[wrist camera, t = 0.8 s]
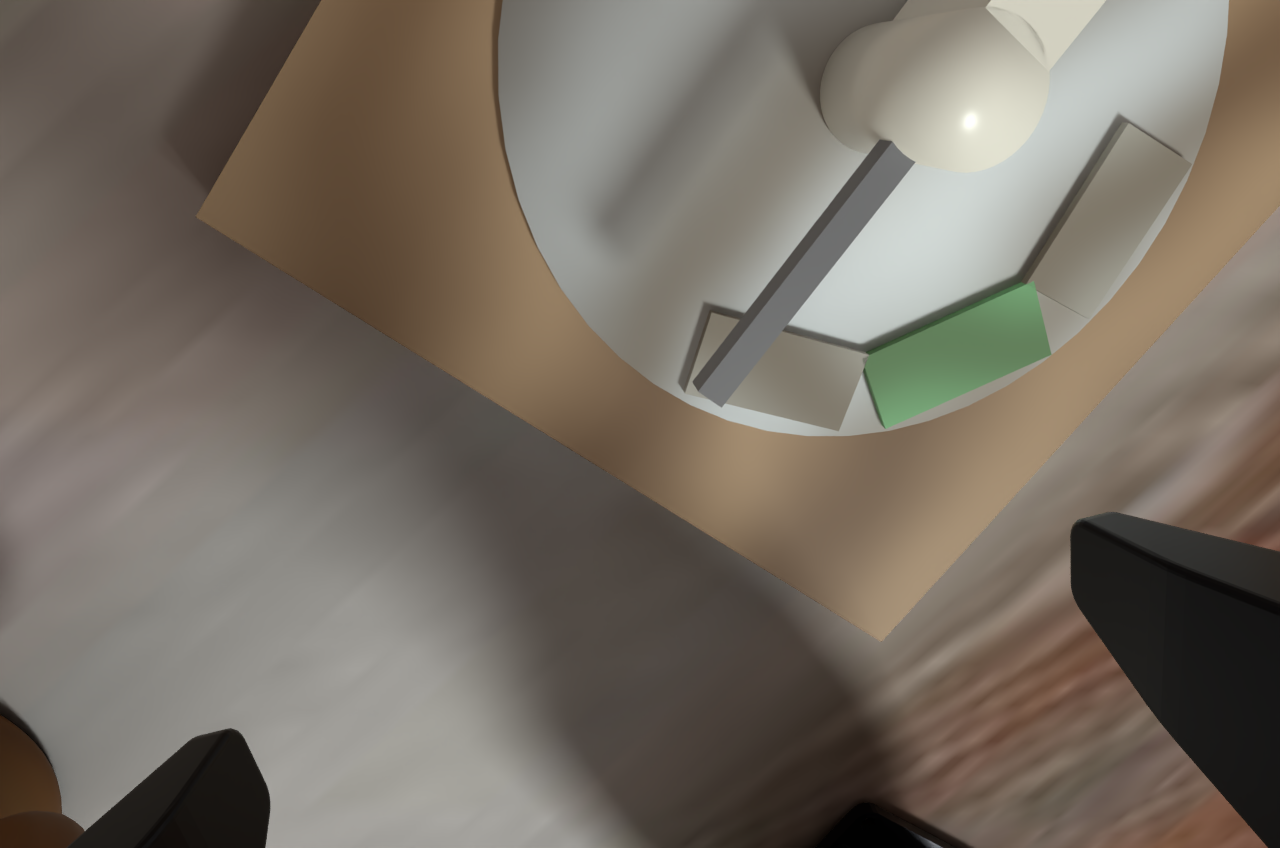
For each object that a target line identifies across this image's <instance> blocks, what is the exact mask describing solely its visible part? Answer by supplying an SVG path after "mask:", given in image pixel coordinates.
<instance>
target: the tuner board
mask: <svg viewBox="0 0 1280 848" xmlns="http://www.w3.org/2000/svg"><path fill="white" fill-rule="evenodd" d="M907 1H908V0H321V1H320V3H319V5H318V7H317V8H316V10H315V12H314V14H313V15H312V17H311V19H310V20H309V22H308V24H307V26H306V27H305V29H304V31H303V32H302V34H301V36H300V38H299V39H298V41H297V43H296V45H295V46H294V48H293V50H292V51H291V53H290V55H289V57H288V58H287V60H286V62H285V63H284V65H283V67H282V69H281V70H280V72H279V74H278V76H277V77H276V79H275V81H274V82H273V84H272V86H271V88H270V89H269V91H268V93H267V94H266V96H265V98H264V100H263V101H262V103H261V105H260V107H259V108H258V110H257V112H256V113H255V115H254V117H253V119H252V120H251V122H250V124H249V126H248V127H247V129H246V131H245V132H244V134H243V136H242V138H241V139H240V141H239V143H238V144H237V146H236V148H235V150H234V151H233V153H232V155H231V157H230V158H229V160H228V162H227V163H226V165H225V167H224V169H223V170H222V172H221V174H220V175H219V177H218V179H217V181H216V182H215V184H214V186H213V188H212V189H211V191H210V193H209V194H208V196H207V198H206V200H205V201H204V203H203V205H202V206H201V208H200V210H199V212H198V213H197V215H196V218H198V219H200V220H201V221H203V222H204V223H206V224H208V225H209V226H211V227H212V228H214V229H216V230H217V231H219V232H221V233H222V234H224V235H225V236H227V237H229V238H230V239H232V240H233V241H235V242H237V243H238V244H240V245H241V246H243V247H245V248H246V249H248V250H250V251H251V252H253V253H254V254H256V255H258V256H259V257H261V258H262V259H264V260H266V261H267V262H269V263H271V264H272V265H274V266H275V267H277V268H279V269H280V270H282V271H283V272H285V273H287V274H288V275H290V276H292V277H293V278H295V279H296V280H298V281H300V282H301V283H303V284H304V285H306V286H308V287H309V288H311V289H312V290H314V291H316V292H317V293H319V294H321V295H322V296H324V297H325V298H327V299H329V300H330V301H332V302H333V303H335V304H337V305H338V306H340V307H342V308H343V309H345V310H346V311H348V312H350V313H351V314H353V315H354V316H356V317H358V318H359V319H361V320H363V321H364V322H366V323H367V324H369V325H371V326H372V327H374V328H375V329H377V330H379V331H380V332H382V333H383V334H385V335H387V336H388V337H390V338H392V339H393V340H395V341H396V342H398V343H400V344H401V345H403V346H404V347H406V348H408V349H409V350H411V351H413V352H414V353H416V354H417V355H419V356H421V357H422V358H424V359H425V360H427V361H429V362H430V363H432V364H433V365H435V366H437V367H438V368H440V369H442V370H443V371H445V372H446V373H448V374H450V375H451V376H453V377H454V378H456V379H458V380H459V381H461V382H463V383H464V384H466V385H467V386H469V387H471V388H472V389H474V390H475V391H477V392H479V393H480V394H482V395H484V396H485V397H487V398H488V399H490V400H492V401H493V402H495V403H496V404H498V405H500V406H501V407H503V408H504V409H506V410H508V411H509V412H511V413H513V414H514V415H516V416H517V417H519V418H521V419H522V420H524V421H525V422H527V423H529V424H530V425H532V426H534V427H535V428H537V429H538V430H540V431H542V432H543V433H545V434H546V435H548V436H550V437H551V438H553V439H555V440H556V441H558V442H559V443H561V444H563V445H564V446H566V447H567V448H569V449H571V450H572V451H574V452H575V453H577V454H579V455H580V456H582V457H584V458H585V459H587V460H588V461H590V462H592V463H593V464H595V465H596V466H598V467H600V468H601V469H603V470H605V471H606V472H608V473H609V474H611V475H613V476H614V477H616V478H617V479H619V480H621V481H622V482H624V483H626V484H627V485H629V486H630V487H632V488H634V489H635V490H637V491H638V492H640V493H642V494H643V495H645V496H646V497H648V498H650V499H651V500H653V501H655V502H656V503H658V504H659V505H661V506H663V507H664V508H666V509H667V510H669V511H671V512H672V513H674V514H676V515H677V516H679V517H680V518H682V519H684V520H685V521H687V522H688V523H690V524H692V525H693V526H695V527H697V528H698V529H700V530H701V531H703V532H705V533H706V534H708V535H709V536H711V537H713V538H714V539H716V540H717V541H719V542H721V543H722V544H724V545H726V546H727V547H729V548H730V549H732V550H734V551H735V552H737V553H738V554H740V555H742V556H743V557H745V558H747V559H748V560H750V561H751V562H753V563H755V564H756V565H758V566H759V567H761V568H763V569H764V570H766V571H767V572H769V573H771V574H772V575H774V576H776V577H777V578H779V579H780V580H782V581H784V582H785V583H787V584H788V585H790V586H792V587H793V588H795V589H797V590H798V591H800V592H801V593H803V594H805V595H806V596H808V597H809V598H811V599H813V600H814V601H816V602H818V603H819V604H821V605H822V606H824V607H826V608H827V609H829V610H830V611H832V612H834V613H835V614H837V615H838V616H840V617H842V618H843V619H845V620H847V621H848V622H850V623H851V624H853V625H855V626H856V627H858V628H859V629H861V630H863V631H864V632H866V633H868V634H869V635H871V636H872V637H874V638H876V639H877V640H879V641H880V642H882V641H883V640H884V639H885V637H886V636H887V635H888V634H889V633H890V632H891V631H892V630H893V629H894V628H895V626H896V625H897V624H898V623H899V622H900V621H901V620H902V619H903V618H904V617H905V615H906V614H907V613H908V612H909V611H910V610H911V609H912V608H913V607H914V606H915V605H916V603H917V602H918V601H919V600H920V599H921V598H922V597H923V596H924V595H925V594H926V592H927V591H928V590H929V589H930V588H931V587H932V586H933V585H934V584H935V583H936V582H937V580H938V579H939V578H940V577H941V576H942V575H943V574H944V573H945V572H946V571H947V569H948V568H949V567H950V566H951V565H952V564H953V563H954V562H955V561H956V560H957V559H958V557H959V556H960V555H961V554H962V553H963V552H964V551H965V550H966V549H967V548H968V546H969V545H970V544H971V543H972V542H973V541H974V540H975V539H976V538H977V537H978V536H979V534H980V533H981V532H982V531H983V530H984V529H985V528H986V527H987V526H988V525H989V523H990V522H991V521H992V520H993V519H994V518H995V517H996V516H997V515H998V514H999V512H1000V511H1001V510H1002V509H1003V508H1004V507H1005V506H1006V505H1007V504H1008V503H1009V502H1010V500H1011V499H1012V498H1013V497H1014V496H1015V495H1016V494H1017V493H1018V492H1019V491H1020V489H1021V488H1022V487H1023V486H1024V485H1025V484H1026V483H1027V482H1028V481H1029V480H1030V479H1031V477H1032V476H1033V475H1034V474H1035V473H1036V472H1037V471H1038V470H1039V469H1040V468H1041V466H1042V465H1043V464H1044V463H1045V462H1046V461H1047V460H1048V459H1049V458H1050V457H1051V456H1052V454H1053V453H1054V452H1055V451H1056V450H1057V449H1058V448H1059V447H1060V446H1061V445H1062V443H1063V442H1064V441H1065V440H1066V439H1067V438H1068V437H1069V436H1070V435H1071V434H1072V432H1073V431H1074V430H1075V429H1076V428H1077V427H1078V426H1079V425H1080V424H1081V423H1082V422H1083V420H1084V419H1085V418H1086V417H1087V416H1088V415H1089V414H1090V413H1091V412H1092V411H1093V409H1094V408H1095V407H1096V406H1097V405H1098V404H1099V403H1100V402H1101V401H1102V400H1103V399H1104V397H1105V396H1106V395H1107V394H1108V393H1109V392H1110V391H1111V390H1112V389H1113V388H1114V386H1115V385H1116V384H1117V383H1118V382H1119V381H1120V380H1121V379H1122V378H1123V377H1124V376H1125V374H1126V373H1127V372H1128V371H1129V370H1130V369H1131V368H1132V367H1133V366H1134V365H1135V363H1136V362H1137V361H1138V360H1139V359H1140V358H1141V357H1142V356H1143V355H1144V354H1145V353H1146V351H1147V350H1148V349H1149V348H1150V347H1151V346H1152V345H1153V344H1154V343H1155V342H1156V340H1157V339H1158V338H1159V337H1160V336H1161V335H1162V334H1163V333H1164V332H1165V331H1166V329H1167V328H1168V327H1169V326H1170V325H1171V324H1172V323H1173V322H1174V321H1175V320H1176V319H1177V317H1178V316H1179V315H1180V314H1181V313H1182V312H1183V311H1184V310H1185V309H1186V308H1187V306H1188V305H1189V304H1190V303H1191V302H1192V301H1193V300H1194V299H1195V298H1196V297H1197V296H1198V294H1199V293H1200V292H1201V291H1202V290H1203V289H1204V288H1205V287H1206V286H1207V285H1208V283H1209V282H1210V281H1211V280H1212V279H1213V278H1214V277H1215V276H1216V275H1217V274H1218V273H1219V271H1220V270H1221V269H1222V268H1223V267H1224V266H1225V265H1226V264H1227V263H1228V262H1229V260H1230V259H1231V258H1232V257H1233V256H1234V255H1235V254H1236V253H1237V252H1238V251H1239V249H1240V248H1241V247H1242V246H1243V245H1244V244H1245V243H1246V242H1247V241H1248V240H1249V239H1250V237H1251V236H1252V235H1253V234H1254V233H1255V232H1256V231H1257V230H1258V229H1259V228H1260V226H1261V225H1262V224H1263V223H1264V222H1265V221H1266V220H1267V219H1268V218H1269V217H1270V216H1271V214H1272V213H1273V212H1274V211H1275V210H1276V209H1277V208H1278V207H1279V206H1280V0H1106V1H1105V3H1104V4H1103V5H1102V6H1101V8H1100V9H1099V10H1098V11H1097V12H1096V14H1095V15H1094V16H1093V17H1092V19H1091V20H1090V21H1089V22H1088V24H1087V25H1086V26H1085V27H1084V29H1083V30H1082V31H1081V32H1080V34H1079V35H1078V36H1077V37H1076V38H1075V40H1074V41H1073V42H1072V43H1071V45H1070V46H1069V47H1068V48H1067V50H1066V51H1065V52H1064V53H1063V55H1062V56H1061V57H1060V58H1059V60H1058V61H1057V62H1056V63H1055V64H1054V66H1053V67H1052V68H1051V69H1050V84H1049V93H1048V98H1047V102H1046V105H1045V108H1044V111H1043V114H1042V116H1041V118H1040V121H1039V123H1038V124H1037V126H1036V128H1035V130H1034V131H1033V133H1032V134H1031V136H1030V137H1029V138H1028V140H1027V141H1026V142H1025V143H1024V144H1023V145H1022V146H1021V147H1020V149H1018V150H1017V151H1016V152H1015V153H1014V154H1013V155H1012V156H1010V157H1009V158H1007V159H1006V160H1004V161H1003V162H1001V163H999V164H997V165H995V166H993V167H990V168H988V169H985V170H981V171H977V172H968V173H962V172H953V171H948V170H943V169H938V168H934V167H929V166H924V165H919V164H914V165H913V166H912V167H911V169H910V170H909V171H908V172H907V174H906V175H905V176H904V178H903V179H902V180H901V181H900V183H899V184H898V185H897V186H896V188H895V189H894V190H893V191H892V193H891V194H890V195H889V197H888V198H887V199H886V200H885V202H884V203H883V204H882V205H881V207H880V208H879V209H878V210H877V212H876V213H875V214H874V216H873V217H872V218H871V219H870V221H869V222H868V223H867V224H866V226H865V227H864V228H863V229H862V231H861V232H860V233H859V235H858V236H857V237H856V238H855V240H854V241H853V242H852V243H851V245H850V246H849V247H848V248H847V250H846V251H845V252H844V254H843V255H842V256H841V257H840V259H839V260H838V261H837V262H836V264H835V265H834V266H833V267H832V269H831V270H830V271H829V273H828V274H827V275H826V276H825V278H824V279H823V280H822V281H821V283H820V284H819V285H818V286H817V288H816V289H815V290H814V291H813V293H812V294H811V295H810V297H809V298H808V299H807V300H806V302H805V303H804V304H803V305H802V307H801V308H800V309H799V310H798V312H797V313H796V314H795V316H794V317H793V318H792V319H791V321H790V322H789V323H788V324H787V326H786V327H785V328H784V329H783V331H782V332H781V333H780V335H779V336H778V337H777V338H776V340H775V341H774V342H773V343H772V345H771V346H770V347H769V348H768V350H767V351H766V352H765V354H764V355H763V356H762V357H761V359H760V360H759V361H758V362H757V364H756V365H755V366H754V367H753V369H752V370H751V371H750V373H749V374H748V375H747V376H746V378H745V379H744V380H743V381H742V383H741V384H740V385H739V386H738V388H737V389H736V390H735V392H734V393H733V394H732V395H731V397H730V398H729V399H728V400H727V402H726V403H725V404H724V405H723V407H722V408H721V407H720V406H718V405H717V404H715V403H714V402H712V401H711V400H709V399H708V398H707V397H705V396H704V395H702V394H701V393H699V392H698V391H697V389H696V387H695V386H694V384H693V382H692V381H693V380H694V379H695V377H696V376H697V375H698V374H699V372H700V371H701V370H702V368H703V367H704V366H705V364H706V363H707V362H708V361H709V359H710V358H711V357H712V355H713V354H714V353H715V352H716V350H717V349H718V348H719V346H720V345H721V344H722V343H723V341H724V340H725V339H726V337H727V336H728V335H729V333H730V332H731V331H732V330H733V328H734V327H735V326H736V324H737V323H738V322H739V321H740V319H741V318H742V317H743V315H744V314H745V313H746V311H747V310H748V309H749V308H750V306H751V305H752V304H753V302H754V301H755V300H756V299H757V297H758V296H759V295H760V293H761V292H762V291H763V290H764V288H765V287H766V286H767V284H768V283H769V282H770V280H771V279H772V278H773V277H774V275H775V274H776V273H777V271H778V270H779V269H780V268H781V266H782V265H783V264H784V262H785V261H786V260H787V258H788V257H789V256H790V255H791V253H792V252H793V251H794V249H795V248H796V247H797V246H798V244H799V243H800V242H801V240H802V239H803V238H804V236H805V235H806V234H807V233H808V231H809V230H810V229H811V227H812V226H813V225H814V224H815V222H816V221H817V220H818V218H819V217H820V216H821V215H822V213H823V212H824V211H825V209H826V208H827V207H828V205H829V204H830V203H831V202H832V200H833V199H834V198H835V196H836V195H837V194H838V193H839V191H840V190H841V189H842V187H843V186H844V185H845V183H846V182H847V181H848V180H849V178H850V177H851V176H852V174H853V173H854V172H855V171H856V169H857V168H858V167H859V165H860V164H861V163H862V162H863V160H864V159H865V158H866V156H867V155H868V154H866V153H861V152H858V151H855V150H852V149H850V148H848V147H846V146H845V145H843V144H842V143H841V142H839V141H838V140H837V139H836V138H835V137H834V135H833V134H832V133H831V131H830V130H829V128H828V126H827V124H826V122H825V120H824V117H823V114H822V110H821V104H820V86H821V80H822V76H823V72H824V70H825V67H826V64H827V62H828V60H829V58H830V57H831V55H832V53H833V52H834V50H835V49H836V48H837V47H838V45H839V44H840V43H841V42H842V41H843V40H844V39H845V38H846V37H848V36H849V35H850V34H852V33H853V32H855V31H857V30H858V29H860V28H862V27H865V26H868V25H871V24H875V23H881V22H887V21H893V19H894V18H895V17H896V15H897V14H898V13H899V11H900V10H901V9H902V7H903V6H904V5H905V3H906V2H907Z"/></svg>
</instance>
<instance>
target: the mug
mask: <svg viewBox="0 0 1280 848" xmlns="http://www.w3.org/2000/svg"><path fill="white" fill-rule="evenodd" d="M84 832H85V831H84V829H83V828H82V827H81V826H80V825H79V824H77V823H76V822H75V821H74V820H72V819H70V818H68V817H67V816H65V815H63V814H62V806H61V795H60V790H59V786H58V781H57V778H56V776H55V773H54V771H53V768H52V766H51V765H50V763H49V761H48V760H47V758H46V756H45V755H44V753H43V752H42V751H41V750H40V748H39V747H38V746H37V745H36V743H35V742H34V741H33V740H32V739H31V738H30V737H29V736H28V735H27V734H25V733H24V732H23V731H22V730H21V729H20V728H18V727H17V726H16V725H14V724H13V723H12V722H10V721H9V720H8V719H6V718H4V717H3V716H1V715H0V848H66V847H68V846H69V845H70V844H71V843H72V842H73V841H74V840H76V839H77V838H78V837H79V836H80V835H81V834H83V833H84Z"/></svg>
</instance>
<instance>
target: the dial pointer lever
mask: <svg viewBox="0 0 1280 848" xmlns="http://www.w3.org/2000/svg"><path fill="white" fill-rule="evenodd" d="M1105 1H1106V0H908V1H907V2H906V3H905V5H904V6H903V7H902V9H901V10H900V11H899V13H898V14H897V15H896V17H895V18H894V19H893V21H887V22H881V23H875V24H871V25H868V26H865V27H862V28H860V29H858V30H857V31H855V32H853V33H852V34H850V35H849V36H848V37H846V38H845V39H844V40H843V41H842V42H841V43H840V44H839V45H838V47H837V48H836V49H835V50H834V52H833V53H832V55H831V57H830V58H829V60H828V62H827V64H826V67H825V70H824V72H823V76H822V80H821V86H820V104H821V110H822V114H823V117H824V120H825V122H826V124H827V126H828V128H829V130H830V131H831V133H832V134H833V135H834V137H835V138H836V139H837V140H838V141H839V142H841V143H842V144H843V145H845V146H846V147H848V148H850V149H852V150H855V151H858V152H861V153H866V154H868V155H867V156H866V158H865V159H864V160H863V162H862V163H861V164H860V165H859V167H858V168H857V169H856V171H855V172H854V173H853V174H852V176H851V177H850V178H849V180H848V181H847V182H846V183H845V185H844V186H843V187H842V189H841V190H840V191H839V193H838V194H837V195H836V196H835V198H834V199H833V200H832V202H831V203H830V204H829V205H828V207H827V208H826V209H825V211H824V212H823V213H822V215H821V216H820V217H819V218H818V220H817V221H816V222H815V224H814V225H813V226H812V227H811V229H810V230H809V231H808V233H807V234H806V235H805V236H804V238H803V239H802V240H801V242H800V243H799V244H798V246H797V247H796V248H795V249H794V251H793V252H792V253H791V255H790V256H789V257H788V258H787V260H786V261H785V262H784V264H783V265H782V266H781V268H780V269H779V270H778V271H777V273H776V274H775V275H774V277H773V278H772V279H771V280H770V282H769V283H768V284H767V286H766V287H765V288H764V290H763V291H762V292H761V293H760V295H759V296H758V297H757V299H756V300H755V301H754V302H753V304H752V305H751V306H750V308H749V309H748V310H747V311H746V313H745V314H744V315H743V317H742V318H741V319H740V321H739V322H738V323H737V324H736V326H735V327H734V328H733V330H732V331H731V332H730V333H729V335H728V336H727V337H726V339H725V340H724V341H723V343H722V344H721V345H720V346H719V348H718V349H717V350H716V352H715V353H714V354H713V355H712V357H711V358H710V359H709V361H708V362H707V363H706V364H705V366H704V367H703V368H702V370H701V371H700V372H699V374H698V375H697V376H696V377H695V379H694V380H693V381H692V382H693V384H694V386H695V387H696V389H697V391H698V392H699V393H701V394H702V395H704V396H705V397H707V398H708V399H709V400H711V401H712V402H714V403H715V404H717V405H718V406H720V407H721V408H722V407H723V405H724V404H725V403H726V402H727V400H728V399H729V398H730V397H731V395H732V394H733V393H734V392H735V390H736V389H737V388H738V386H739V385H740V384H741V383H742V381H743V380H744V379H745V378H746V376H747V375H748V374H749V373H750V371H751V370H752V369H753V367H754V366H755V365H756V364H757V362H758V361H759V360H760V359H761V357H762V356H763V355H764V354H765V352H766V351H767V350H768V348H769V347H770V346H771V345H772V343H773V342H774V341H775V340H776V338H777V337H778V336H779V335H780V333H781V332H782V331H783V329H784V328H785V327H786V326H787V324H788V323H789V322H790V321H791V319H792V318H793V317H794V316H795V314H796V313H797V312H798V310H799V309H800V308H801V307H802V305H803V304H804V303H805V302H806V300H807V299H808V298H809V297H810V295H811V294H812V293H813V291H814V290H815V289H816V288H817V286H818V285H819V284H820V283H821V281H822V280H823V279H824V278H825V276H826V275H827V274H828V273H829V271H830V270H831V269H832V267H833V266H834V265H835V264H836V262H837V261H838V260H839V259H840V257H841V256H842V255H843V254H844V252H845V251H846V250H847V248H848V247H849V246H850V245H851V243H852V242H853V241H854V240H855V238H856V237H857V236H858V235H859V233H860V232H861V231H862V229H863V228H864V227H865V226H866V224H867V223H868V222H869V221H870V219H871V218H872V217H873V216H874V214H875V213H876V212H877V210H878V209H879V208H880V207H881V205H882V204H883V203H884V202H885V200H886V199H887V198H888V197H889V195H890V194H891V193H892V191H893V190H894V189H895V188H896V186H897V185H898V184H899V183H900V181H901V180H902V179H903V178H904V176H905V175H906V174H907V172H908V171H909V170H910V169H911V167H912V166H913V165H914V164H919V165H924V166H929V167H934V168H938V169H943V170H948V171H953V172H962V173H968V172H977V171H981V170H985V169H988V168H990V167H993V166H995V165H997V164H999V163H1001V162H1003V161H1004V160H1006V159H1007V158H1009V157H1010V156H1012V155H1013V154H1014V153H1015V152H1016V151H1017V150H1018V149H1020V147H1021V146H1022V145H1023V144H1024V143H1025V142H1026V141H1027V140H1028V138H1029V137H1030V136H1031V134H1032V133H1033V131H1034V130H1035V128H1036V126H1037V124H1038V123H1039V121H1040V118H1041V116H1042V114H1043V111H1044V108H1045V105H1046V102H1047V98H1048V93H1049V84H1050V69H1051V68H1052V67H1053V66H1054V64H1055V63H1056V62H1057V61H1058V60H1059V58H1060V57H1061V56H1062V55H1063V53H1064V52H1065V51H1066V50H1067V48H1068V47H1069V46H1070V45H1071V43H1072V42H1073V41H1074V40H1075V38H1076V37H1077V36H1078V35H1079V34H1080V32H1081V31H1082V30H1083V29H1084V27H1085V26H1086V25H1087V24H1088V22H1089V21H1090V20H1091V19H1092V17H1093V16H1094V15H1095V14H1096V12H1097V11H1098V10H1099V9H1100V8H1101V6H1102V5H1103V4H1104V3H1105Z"/></svg>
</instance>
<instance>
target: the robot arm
mask: <svg viewBox="0 0 1280 848" xmlns="http://www.w3.org/2000/svg"><path fill="white" fill-rule="evenodd" d="M1070 543H1071V589H1072V593H1073V596H1074V599H1075V601H1076V603H1077V605H1078V607H1079V609H1080V610H1081V612H1082V613H1083V615H1084V616H1085V617H1086V619H1087V620H1088V622H1089V623H1090V625H1091V626H1092V627H1093V629H1094V630H1095V632H1096V633H1097V634H1098V636H1099V637H1100V639H1101V640H1102V642H1103V643H1104V644H1105V646H1106V647H1107V649H1108V650H1109V652H1110V653H1111V654H1112V656H1113V657H1114V659H1115V660H1116V662H1117V663H1118V664H1119V666H1120V667H1121V669H1122V670H1123V671H1124V673H1125V674H1126V676H1127V677H1128V679H1129V680H1130V681H1131V683H1132V684H1133V686H1134V687H1135V689H1136V690H1137V691H1138V693H1139V694H1140V696H1141V697H1142V699H1143V700H1144V701H1145V703H1146V704H1147V705H1148V707H1149V708H1150V709H1151V711H1152V712H1153V713H1154V715H1155V716H1156V717H1157V719H1158V720H1159V721H1160V723H1161V724H1162V725H1163V726H1164V728H1165V729H1166V730H1167V731H1168V732H1169V734H1170V735H1171V736H1172V737H1173V738H1174V740H1175V741H1176V742H1177V743H1178V744H1179V746H1180V747H1181V748H1182V749H1183V750H1184V751H1185V752H1186V754H1187V755H1188V756H1189V757H1190V758H1191V759H1192V761H1193V762H1194V763H1195V764H1196V765H1197V766H1198V767H1199V769H1200V770H1201V771H1202V772H1203V773H1204V774H1205V775H1206V777H1207V778H1208V779H1209V780H1210V781H1211V782H1212V784H1213V785H1214V786H1215V787H1216V788H1217V789H1218V790H1219V792H1220V793H1221V794H1222V795H1223V796H1224V797H1225V799H1226V800H1227V801H1228V802H1229V803H1230V804H1231V805H1232V807H1233V808H1234V809H1235V810H1236V811H1237V812H1238V814H1239V815H1240V816H1241V817H1242V818H1243V819H1244V820H1245V822H1246V823H1247V824H1248V825H1249V826H1250V827H1251V829H1252V830H1253V831H1254V832H1255V833H1256V834H1257V835H1258V837H1259V838H1260V839H1261V840H1262V841H1263V842H1264V843H1265V845H1266V846H1267V847H1268V848H1280V552H1279V551H1275V550H1271V549H1267V548H1262V547H1258V546H1254V545H1250V544H1246V543H1242V542H1237V541H1233V540H1229V539H1225V538H1221V537H1217V536H1213V535H1208V534H1204V533H1200V532H1196V531H1192V530H1188V529H1183V528H1179V527H1175V526H1171V525H1167V524H1163V523H1159V522H1154V521H1150V520H1146V519H1142V518H1138V517H1134V516H1129V515H1125V514H1121V513H1117V512H1106V513H1103V514H1099V515H1095V516H1091V517H1087V518H1083V519H1079V520H1077V521H1076V522H1075V523H1074V524H1073V526H1072V529H1071V536H1070ZM269 816H270V796H269V791H268V788H267V785H266V783H265V781H264V778H263V776H262V774H261V772H260V770H259V768H258V766H257V764H256V762H255V760H254V757H253V755H252V753H251V751H250V749H249V747H248V745H247V743H246V741H245V739H244V737H243V736H242V734H241V733H240V732H239V731H237V730H235V729H232V728H229V729H225V730H220V731H216V732H212V733H208V734H204V735H200V736H197V737H195V738H192V739H191V740H190V741H188V742H187V743H186V744H185V745H184V746H183V747H181V748H180V749H179V750H178V751H177V752H176V753H175V754H173V755H172V756H171V757H170V758H169V759H168V760H167V761H165V762H164V763H163V764H162V765H161V766H160V767H158V768H157V769H156V770H155V771H154V772H153V773H152V774H150V775H149V776H148V777H147V778H146V779H145V780H143V781H142V782H141V783H140V784H139V785H138V786H137V787H135V788H134V789H133V790H132V791H131V792H130V793H129V794H127V795H126V796H125V797H124V798H123V799H122V800H120V801H119V802H118V803H117V804H116V805H115V806H114V807H112V808H111V809H110V810H109V811H108V812H107V813H106V814H104V815H103V816H102V817H101V818H100V819H99V820H97V821H96V822H95V823H94V824H93V825H92V826H91V827H89V828H88V829H87V830H86V831H85V832H84V833H83V834H81V835H80V836H79V837H78V838H77V839H76V840H74V841H73V842H72V843H71V844H70V845H69V846H68V847H66V848H265V846H266V839H267V831H268V824H269ZM867 818H868V819H867ZM865 819H866V820H865ZM815 848H955V847H953V846H951V845H950V844H948V843H946V842H944V841H942V840H940V839H938V838H936V837H935V836H933V835H931V834H929V833H927V832H925V831H923V830H921V829H920V828H918V827H916V826H914V825H912V824H910V823H908V822H906V821H905V820H903V819H901V818H899V817H897V816H895V815H893V814H891V813H890V812H888V811H886V810H884V809H882V808H880V807H878V806H876V805H874V804H872V803H862V804H859V805H857V806H856V807H854V808H853V809H852V810H851V811H850V812H849V813H848V814H847V815H846V816H845V817H844V818H843V819H842V820H841V821H840V822H839V823H838V825H837V826H836V827H835V828H834V829H833V830H832V831H831V832H830V833H829V834H828V835H827V836H826V837H825V838H824V839H823V840H822V841H821V842H820V843H819V844H818V845H817V846H816V847H815Z"/></svg>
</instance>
